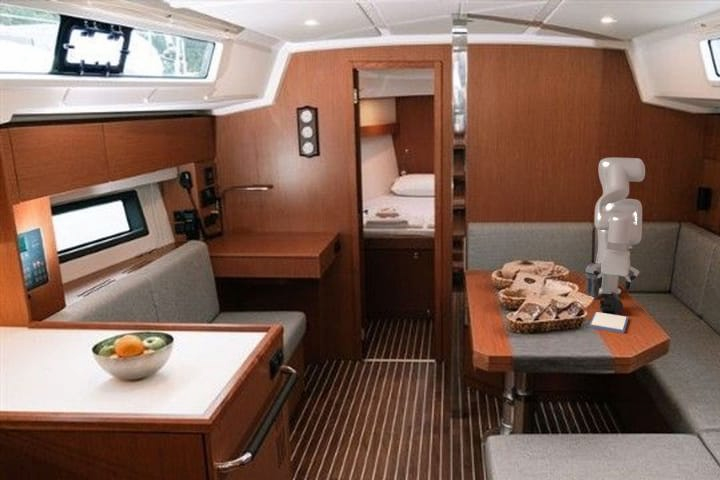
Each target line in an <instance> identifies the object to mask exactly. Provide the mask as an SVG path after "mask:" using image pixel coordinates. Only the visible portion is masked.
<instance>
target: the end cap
mask: <svg viewBox="0 0 720 480" xmlns="http://www.w3.org/2000/svg"><path fill="white" fill-rule="evenodd" d="M600 298H602V299H603V300H602V299H600V300H599V305H600V306H599V309H600V311H601V313H606V314H612V315H619V314H620V313H621V312H623V310H624V304H623V302H622V300H621V299H620V297H619V294H618V295H617V294H616V293H614V292H611V294H604V293H601V294H600Z"/></svg>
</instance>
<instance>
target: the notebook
mask: <svg viewBox="0 0 720 480" xmlns="http://www.w3.org/2000/svg"><path fill="white" fill-rule="evenodd" d="M628 322H629V317H628V316H624V315H619V314H616V315H612V314H606V313H602V312H599V311H595V312H594V314H593V316H592V318H591V320H590V322H589V324H588V328H591V329H597V330H603V331H607V332H612V333H613V332H614V333H620V334H625V331H626V328H627V325H628Z"/></svg>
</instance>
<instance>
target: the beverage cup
mask: <svg viewBox="0 0 720 480" xmlns="http://www.w3.org/2000/svg"><path fill="white" fill-rule="evenodd" d="M598 254H599V253H598V252H597V253H596V259H595V262H591V263H589V264H588V265H587V266H586V268H585V271H584V272H585V296H586V295H588V296H592V297H594V300H593V301H596V300H598V297H599V295H600V294H599V289H600V288H599V285H597V283H598V278H597V276H596V275H595V274H594V272H593V270H592V266H593V265H596V264H598V263H597V260H598ZM596 270H597V271H598V272H599V273H601V267H598V268H596Z"/></svg>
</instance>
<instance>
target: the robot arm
mask: <svg viewBox="0 0 720 480" xmlns="http://www.w3.org/2000/svg"><path fill="white" fill-rule="evenodd" d="M597 171H598V177H599V181H600V184H601V188H602V195H601V196H600V197H599V199H598V200H597V201H596V203H595V207H594V218H593V220H594V221H593V222H594V226H595V228H596V229H597V253H599V254H598V260H597V263H598V264H596V265H593V266H592V270H593V272H594V274H595V275H596V276H597V278H598V283H597V285H599V288H600V289H599V294H598V295H601V293H604V294H611V292H614V293H616V294H617V295H618V296H619V295H620V294H621V293H622V289H621V288H619V277H623V278H625V280H626V281H625V287H624V288H625V289H624V292H627V293H628V290H630V287H631V282H632V281H633V280H635V279H636V278H637V277H638V275H639V274H640V271H639V269H636V268H635V267H633V266H631V251H630V250H631V249H632V248H633V245H638V244H640V242H641V240H642V233H643V206H642V202H641V201H640V200H639V199H637V198H636V199H635V198H634V199H633V198H628V196H629V194H630V182H637V183H640V182H643V180H644V179H645V176H646V167H645V164H644V161H643V160H642V159H641V158H637V157H634V158H633V157H614V156H613V157H604V158H602V159H600V161H599V163H598V170H597ZM598 267H601V273H599V272H598V271H597V270H596V268H598ZM630 271H631V272H632V273H633V275H631V276H630V275H629V274H630Z"/></svg>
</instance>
